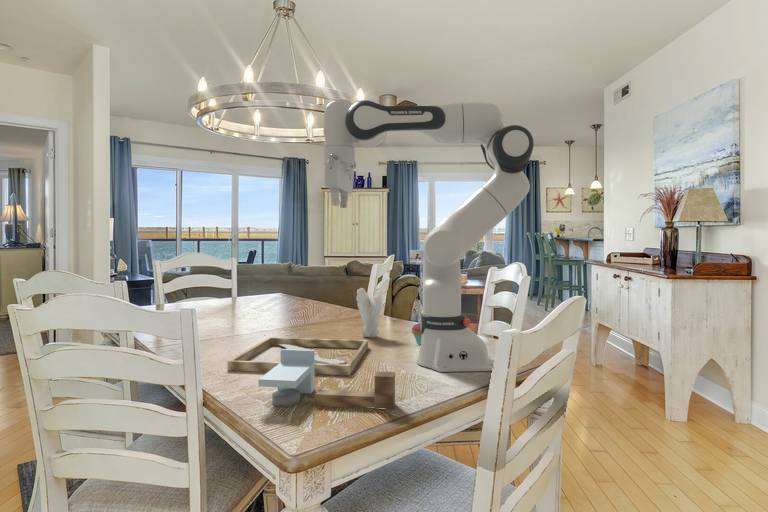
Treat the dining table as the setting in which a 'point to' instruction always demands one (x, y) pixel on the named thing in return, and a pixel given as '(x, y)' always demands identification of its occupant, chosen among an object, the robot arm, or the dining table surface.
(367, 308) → the shell sculpture
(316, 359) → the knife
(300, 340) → the wooden frame
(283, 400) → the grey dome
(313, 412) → the dining table surface
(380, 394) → the brown l-shaped block
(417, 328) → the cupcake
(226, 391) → the dining table surface
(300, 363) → the shelf
